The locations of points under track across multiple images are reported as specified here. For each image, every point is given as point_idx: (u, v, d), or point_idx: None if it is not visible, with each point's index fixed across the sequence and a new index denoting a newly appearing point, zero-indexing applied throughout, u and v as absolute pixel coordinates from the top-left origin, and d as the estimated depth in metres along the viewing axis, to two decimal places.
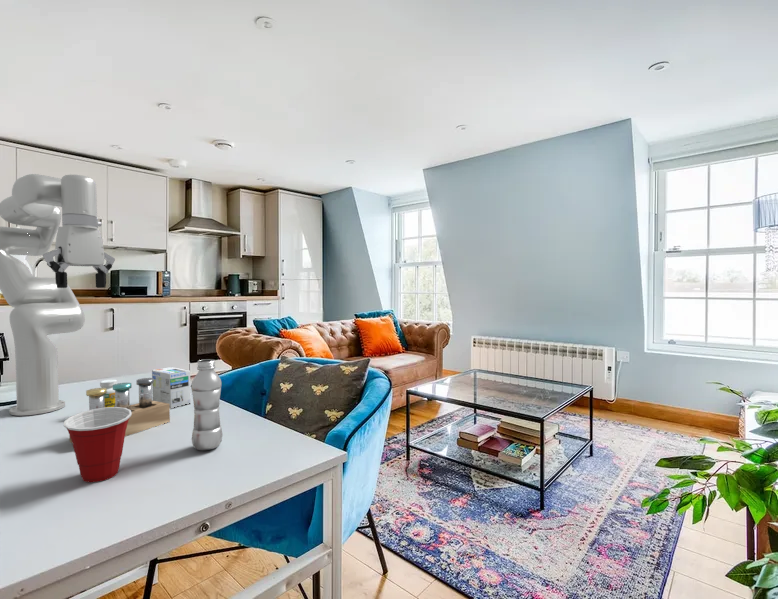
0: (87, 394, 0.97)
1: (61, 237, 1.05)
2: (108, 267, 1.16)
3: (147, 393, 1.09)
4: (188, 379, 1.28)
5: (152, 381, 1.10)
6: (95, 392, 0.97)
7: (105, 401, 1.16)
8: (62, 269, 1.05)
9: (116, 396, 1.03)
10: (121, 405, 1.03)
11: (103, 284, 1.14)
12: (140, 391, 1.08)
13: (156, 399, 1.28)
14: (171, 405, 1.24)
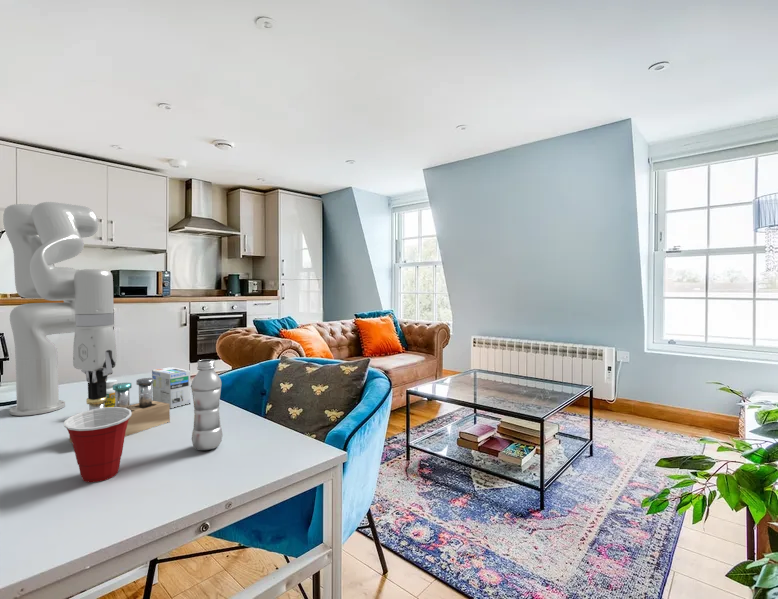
0: (87, 402, 0.97)
1: (109, 340, 0.97)
2: None
3: (147, 393, 1.09)
4: (188, 379, 1.28)
5: (152, 381, 1.10)
6: (95, 400, 0.97)
7: None
8: None
9: (116, 396, 1.03)
10: (121, 405, 1.03)
11: None
12: (140, 391, 1.08)
13: (156, 399, 1.28)
14: (171, 405, 1.24)
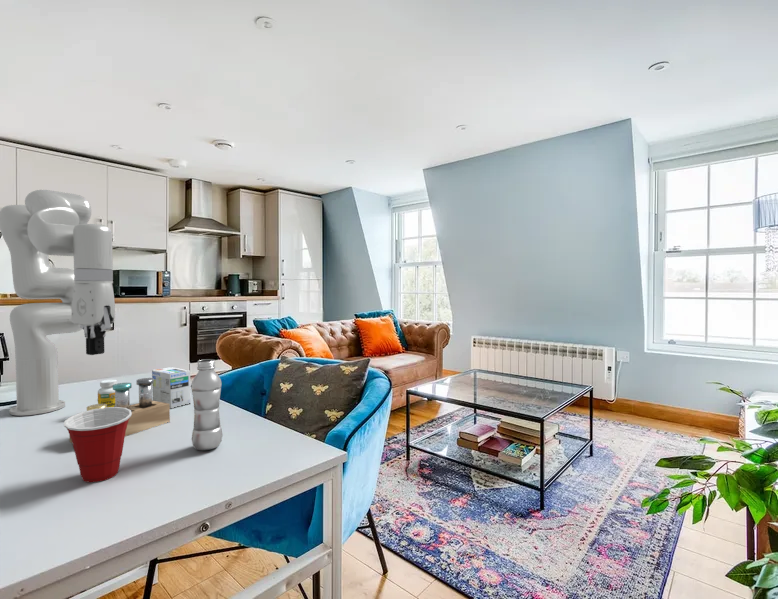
0: None
1: (107, 295, 0.96)
2: None
3: (147, 393, 1.09)
4: (188, 379, 1.28)
5: (152, 381, 1.10)
6: None
7: (105, 401, 1.16)
8: None
9: (116, 396, 1.03)
10: (121, 405, 1.03)
11: None
12: (140, 391, 1.08)
13: (156, 399, 1.28)
14: (171, 405, 1.24)
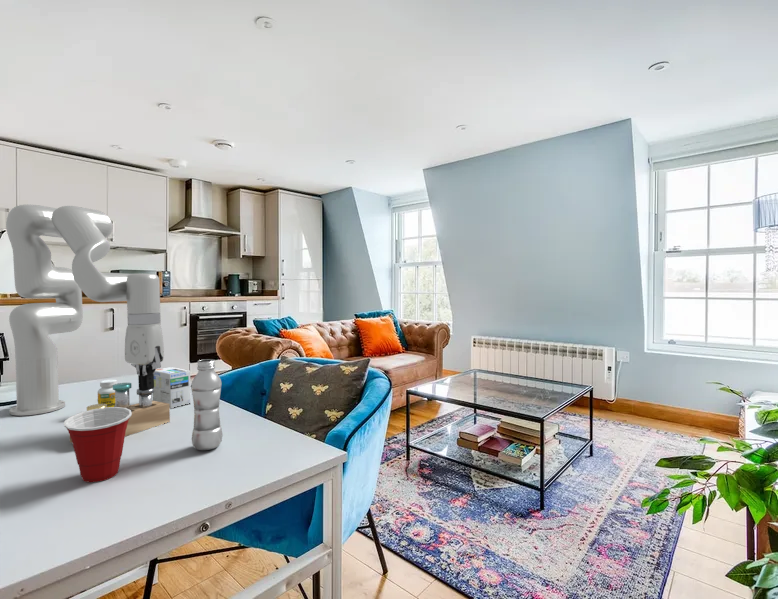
0: None
1: (158, 336, 1.07)
2: None
3: (147, 403, 1.09)
4: (188, 379, 1.28)
5: (152, 391, 1.10)
6: None
7: (105, 401, 1.16)
8: None
9: (116, 396, 1.03)
10: (121, 405, 1.03)
11: None
12: (140, 401, 1.08)
13: (156, 399, 1.28)
14: (171, 405, 1.24)
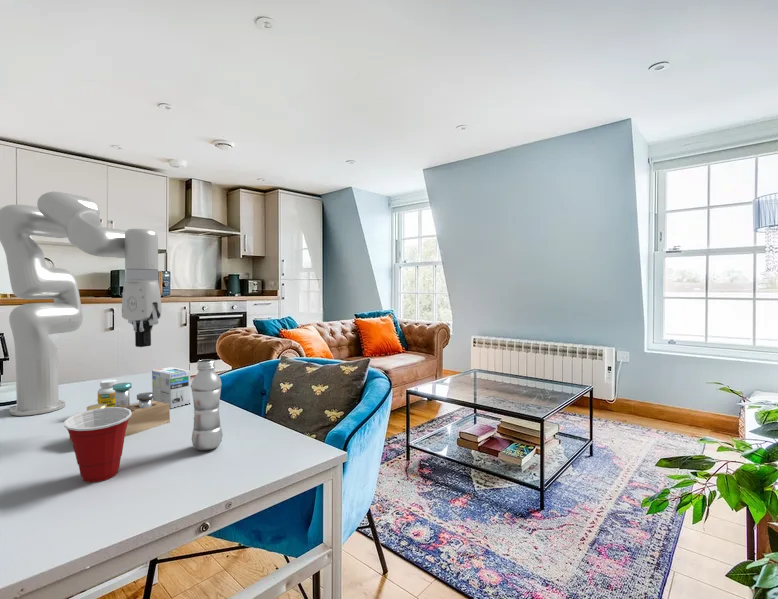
0: None
1: (155, 293, 1.07)
2: None
3: None
4: (188, 379, 1.28)
5: (152, 396, 1.10)
6: None
7: (105, 401, 1.16)
8: None
9: (116, 396, 1.03)
10: (121, 405, 1.03)
11: None
12: (140, 406, 1.09)
13: (156, 399, 1.28)
14: (171, 405, 1.24)
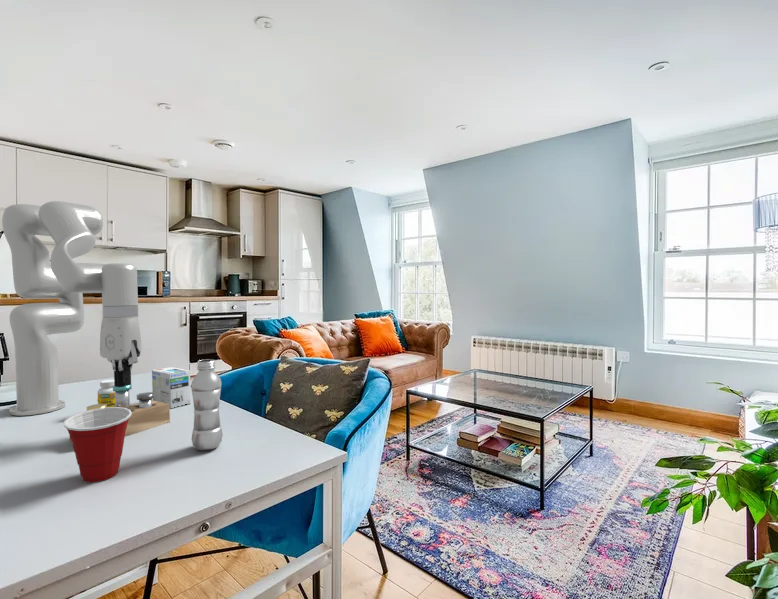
0: None
1: (134, 330, 1.02)
2: None
3: None
4: (188, 379, 1.28)
5: (152, 396, 1.10)
6: None
7: (105, 401, 1.16)
8: None
9: (116, 397, 1.03)
10: (121, 406, 1.03)
11: None
12: (140, 406, 1.09)
13: (156, 399, 1.28)
14: (171, 405, 1.24)
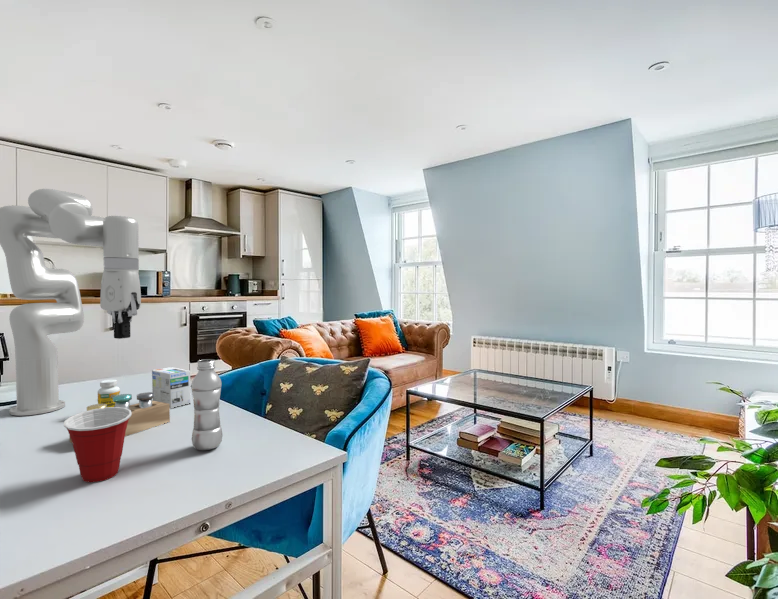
0: None
1: (134, 283, 1.03)
2: None
3: None
4: (188, 379, 1.28)
5: (152, 396, 1.10)
6: None
7: (105, 401, 1.16)
8: None
9: None
10: None
11: None
12: (140, 406, 1.09)
13: (156, 399, 1.28)
14: (171, 405, 1.24)
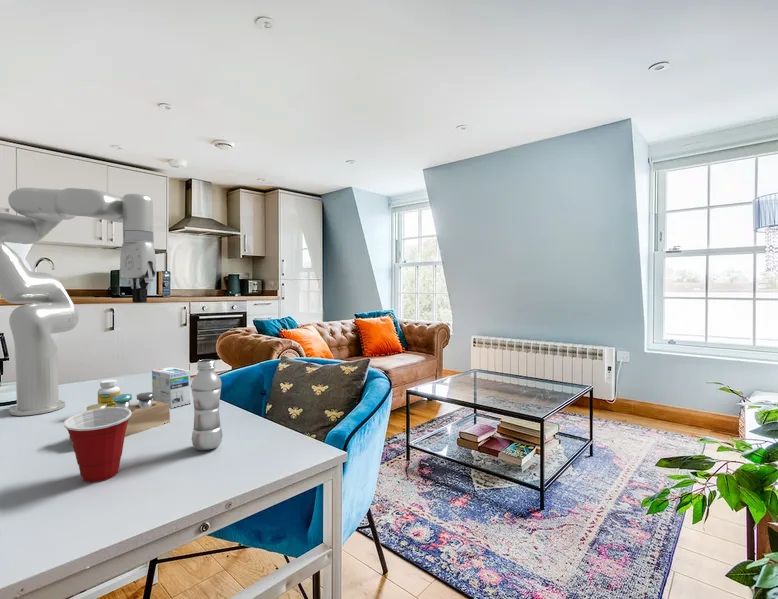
0: None
1: (150, 253, 1.17)
2: None
3: None
4: (188, 379, 1.28)
5: (152, 396, 1.10)
6: None
7: (105, 401, 1.16)
8: None
9: None
10: None
11: None
12: (140, 406, 1.09)
13: (156, 399, 1.28)
14: (171, 405, 1.24)
